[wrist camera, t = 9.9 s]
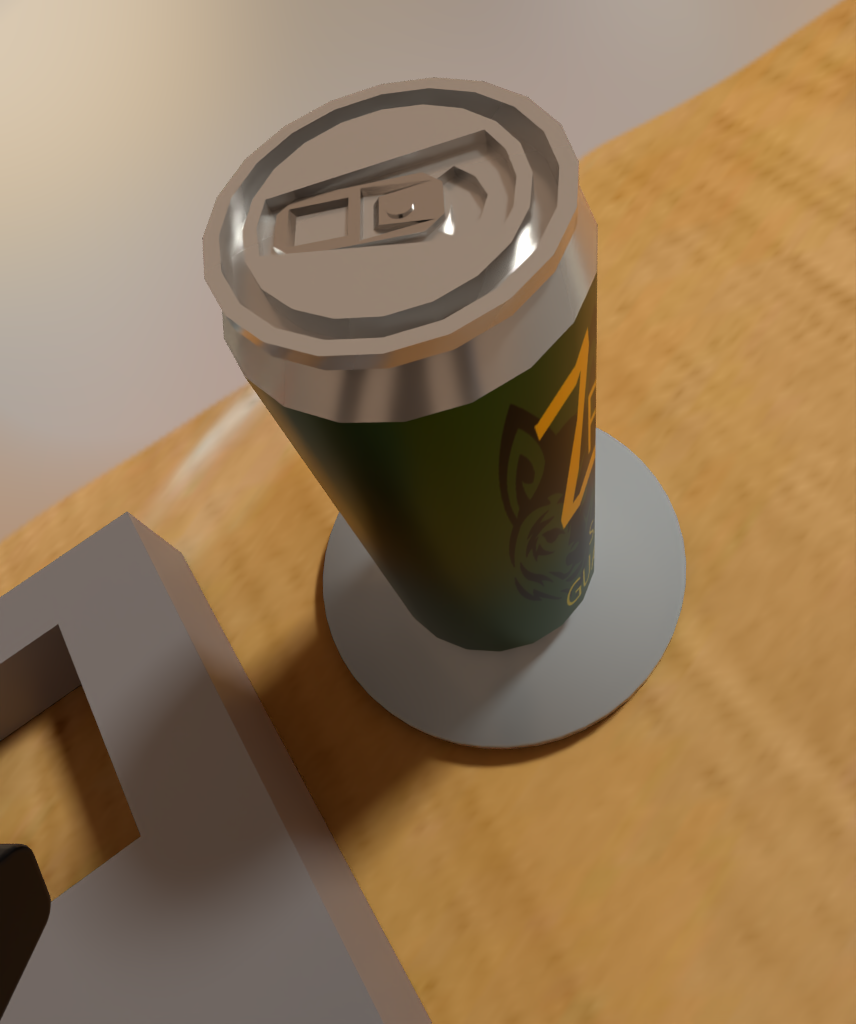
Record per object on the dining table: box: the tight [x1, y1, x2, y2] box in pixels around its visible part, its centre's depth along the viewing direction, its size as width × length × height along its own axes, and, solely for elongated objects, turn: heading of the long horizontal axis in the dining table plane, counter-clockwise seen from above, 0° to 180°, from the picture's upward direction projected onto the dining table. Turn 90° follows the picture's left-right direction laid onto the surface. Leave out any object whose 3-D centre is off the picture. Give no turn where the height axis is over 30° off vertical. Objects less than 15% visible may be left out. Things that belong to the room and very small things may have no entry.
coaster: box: [323, 428, 686, 749], centre depth 20 cm, size 10×10×1 cm
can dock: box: [0, 512, 432, 1024], centre depth 17 cm, size 14×12×3 cm
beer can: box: [202, 77, 598, 652], centre depth 14 cm, size 5×5×12 cm
